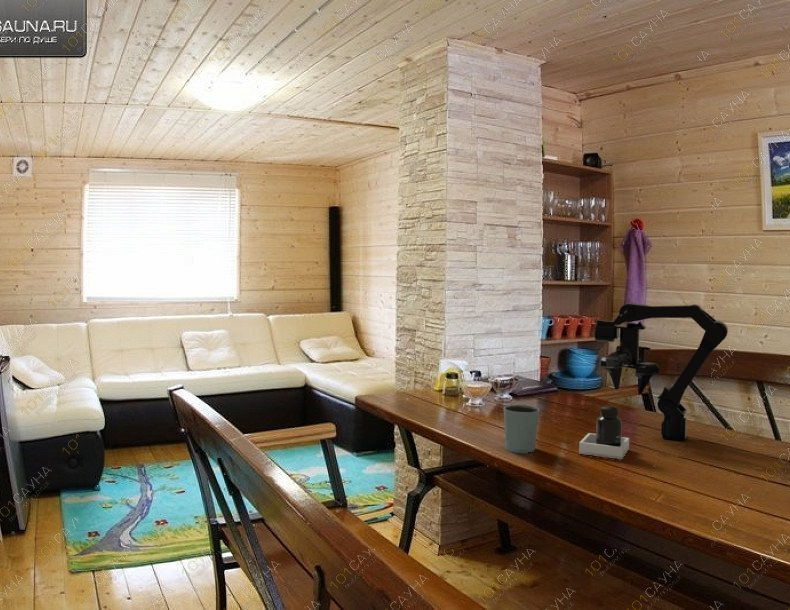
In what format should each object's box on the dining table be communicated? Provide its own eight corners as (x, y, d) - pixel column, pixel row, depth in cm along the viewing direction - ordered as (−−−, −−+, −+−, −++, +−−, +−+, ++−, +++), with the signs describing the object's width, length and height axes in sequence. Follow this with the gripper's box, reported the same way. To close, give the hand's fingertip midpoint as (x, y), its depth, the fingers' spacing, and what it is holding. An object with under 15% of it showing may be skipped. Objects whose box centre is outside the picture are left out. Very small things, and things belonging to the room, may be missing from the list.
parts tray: (628, 449, 194) (629, 438, 193) (621, 460, 184) (622, 447, 183) (588, 444, 199) (588, 433, 199) (579, 454, 189) (579, 442, 189)
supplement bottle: (623, 453, 186) (624, 411, 185) (597, 452, 187) (598, 410, 186) (618, 447, 193) (619, 405, 192) (594, 446, 194) (595, 405, 193)
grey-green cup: (496, 446, 198) (497, 406, 197) (526, 442, 201) (527, 403, 200) (514, 455, 188) (515, 413, 187) (545, 451, 192) (546, 410, 191)
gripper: (588, 341, 215) (587, 389, 216) (635, 348, 199) (634, 400, 200) (613, 339, 221) (612, 386, 222) (660, 345, 205) (659, 396, 206)
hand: (628, 391), depth 212 cm, fingers open, 9 cm apart
